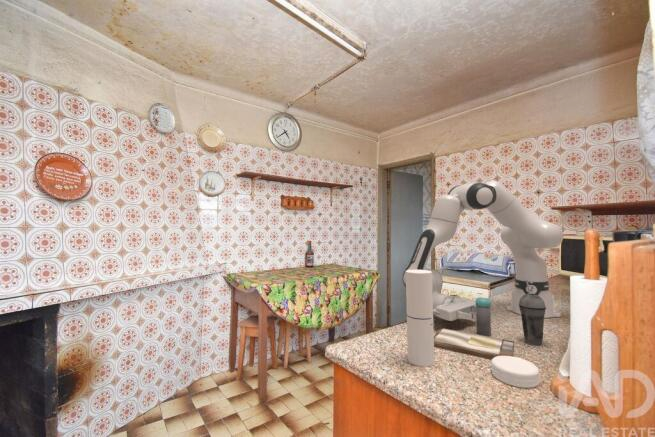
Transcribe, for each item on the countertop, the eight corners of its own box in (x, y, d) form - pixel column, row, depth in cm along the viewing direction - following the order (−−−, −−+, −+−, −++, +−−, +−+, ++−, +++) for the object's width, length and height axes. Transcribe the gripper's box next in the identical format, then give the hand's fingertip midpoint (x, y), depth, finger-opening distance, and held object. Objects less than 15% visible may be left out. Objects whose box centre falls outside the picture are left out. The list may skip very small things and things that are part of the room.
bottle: (477, 330, 103) (476, 297, 103) (492, 333, 100) (491, 298, 100) (475, 334, 99) (474, 299, 99) (490, 337, 96) (489, 301, 97)
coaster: (524, 393, 64) (524, 377, 64) (483, 374, 73) (482, 360, 73) (548, 382, 69) (547, 367, 69) (506, 364, 77) (505, 351, 78)
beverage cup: (552, 348, 87) (550, 282, 88) (526, 346, 89) (523, 281, 89) (540, 338, 94) (537, 278, 95) (515, 337, 96) (513, 277, 96)
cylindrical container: (402, 357, 82) (400, 270, 83) (422, 353, 85) (419, 269, 86) (419, 368, 76) (417, 274, 76) (440, 363, 78) (437, 272, 79)
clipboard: (441, 331, 102) (440, 325, 102) (514, 345, 90) (513, 338, 90) (429, 345, 90) (428, 338, 90) (511, 363, 77) (511, 355, 78)
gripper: (427, 302, 106) (462, 310, 95) (458, 294, 118) (493, 300, 107) (428, 319, 106) (463, 329, 95) (458, 309, 118) (493, 317, 106)
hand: (479, 314), depth 101 cm, fingers open, 8 cm apart
